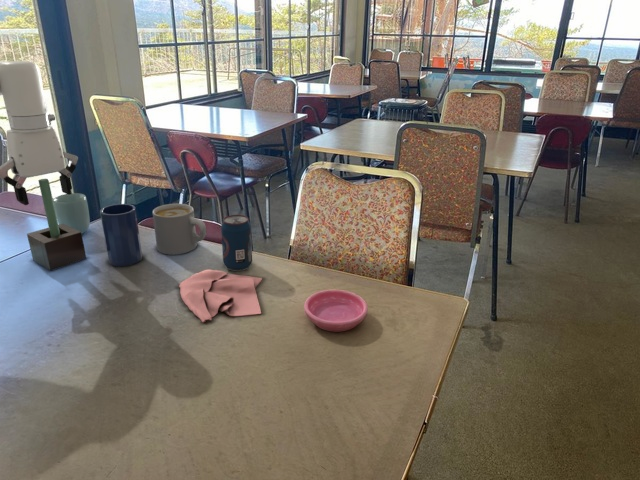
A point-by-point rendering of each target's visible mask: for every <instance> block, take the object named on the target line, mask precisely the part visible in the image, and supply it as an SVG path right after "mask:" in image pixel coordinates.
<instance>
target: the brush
mask: <svg viewBox="0 0 640 480" xmlns="http://www.w3.org/2000/svg"><path fill="white" fill-rule="evenodd" d="M38 185H39V189H40V190H39V191H40V195H41V199H42V204H43V207H44V212H45V216H46V220H47V225H48V228H49V230H50V235H51V238H52V237H56V236H59V235H60V231H59V226H58V225H59V224H58V221H57V217H56V212H55V208H54V203H53V200H54V198H53V195H52V189H51V185H50V180H49V178H41V179H39V180H38Z"/></svg>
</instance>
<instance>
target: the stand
mask: <svg viewBox="0 0 640 480" xmlns="http://www.w3.org/2000/svg"><path fill="white" fill-rule="evenodd" d="M58 226H59V231H60V235H59V236H56V237H52V238H51V235H50V230H49V227H46V228H42V229H39V230H35V231H32V232H28V233H26V236H27V237H26V238H27V240H28V244H29V249H30V254H31V257H32V260H33V262H35V263H37V264H39V265H40V266H42V267H43V268H45V269H47V270H48V271H50V272H52V271H55V270H57V269H60V268H63V267H66V266H68V265H71V264H75V263H78V262H80V261H83V260H86V259H87V254H86V249H85V244H84V239H83V233H81V232H80V231H78V230H76V229H74V228H72V227H70V226H68V225H65V224H58Z"/></svg>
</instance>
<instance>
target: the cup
mask: <svg viewBox="0 0 640 480" xmlns="http://www.w3.org/2000/svg"><path fill="white" fill-rule="evenodd" d="M53 203H54V208H55V212H56V217H57V222H58V225H59V224H65V225H68V226H70V227H72V228H74V229H76V230H78V231H80V232H81V233H82V234H84V233H86V232H87V231H88V230H89V229H90V225H91V217H90V209H89V203H88V199H87V196H86V195H85V194H84V193H77V192H76V193H75V192H74V193H72V194H70V195H68V194H66V193H63V194H60V195H57V196H56V197H54V198H53Z"/></svg>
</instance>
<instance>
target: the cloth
mask: <svg viewBox="0 0 640 480" xmlns="http://www.w3.org/2000/svg"><path fill="white" fill-rule="evenodd" d="M262 280H263V277H256V276H249V275H241V274H232V273H228V272H226V271H223V270H218V269H215V270H213V269H211V268H210V269H204V270H203V269H202V271H200V272H196V273H194V274H193V275H191V276H188V277H187V278H186V279H184V280H183V281H181V282H180V283H179V284H178V288H180V290H179V291H180V292H179V293H180V297H181V300H182V302H183V303H184V305H185V306H187V308H188V309H189V311H191V312H192V313H193V315H194V316H196V317H197V318H198V319H199V320H200V321H201V322H202V323H205V322H207V321H213V320H212V319H213V318H214V317H215V316H216V315H218V311H220V312H221V313H225V314H226V315H228V316H229V317H243V316H255V315H262V312H261V306H260V303H259V302H260V301H259V299H258V295H257V291H256V287H257V286H258V285H259V284H260V283H261V282H262Z"/></svg>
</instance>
